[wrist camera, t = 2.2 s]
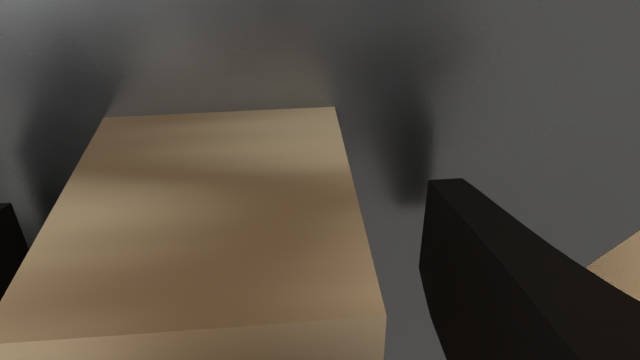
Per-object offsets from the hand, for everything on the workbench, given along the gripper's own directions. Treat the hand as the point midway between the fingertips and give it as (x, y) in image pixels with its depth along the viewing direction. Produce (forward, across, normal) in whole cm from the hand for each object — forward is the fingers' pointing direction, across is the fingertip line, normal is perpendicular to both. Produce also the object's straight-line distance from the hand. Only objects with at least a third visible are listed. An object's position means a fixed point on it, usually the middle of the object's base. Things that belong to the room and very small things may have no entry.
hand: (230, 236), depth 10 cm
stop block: (+1, 0, 0) cm, 1 cm away
